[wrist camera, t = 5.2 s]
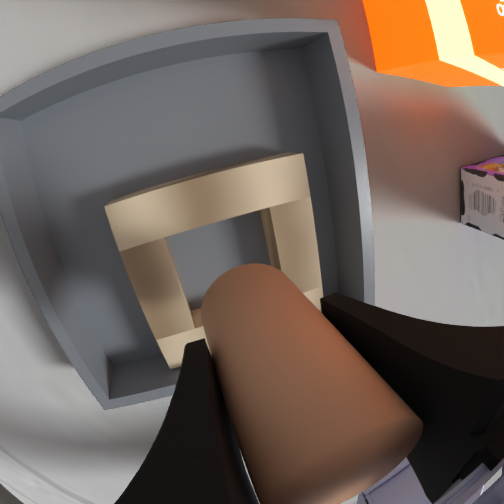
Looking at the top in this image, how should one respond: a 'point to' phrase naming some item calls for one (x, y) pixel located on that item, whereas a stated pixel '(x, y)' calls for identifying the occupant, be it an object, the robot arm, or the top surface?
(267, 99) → the tray
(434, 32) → the orange juice
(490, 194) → the candy box
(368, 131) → the top surface
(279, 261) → the plate
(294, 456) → the peg
